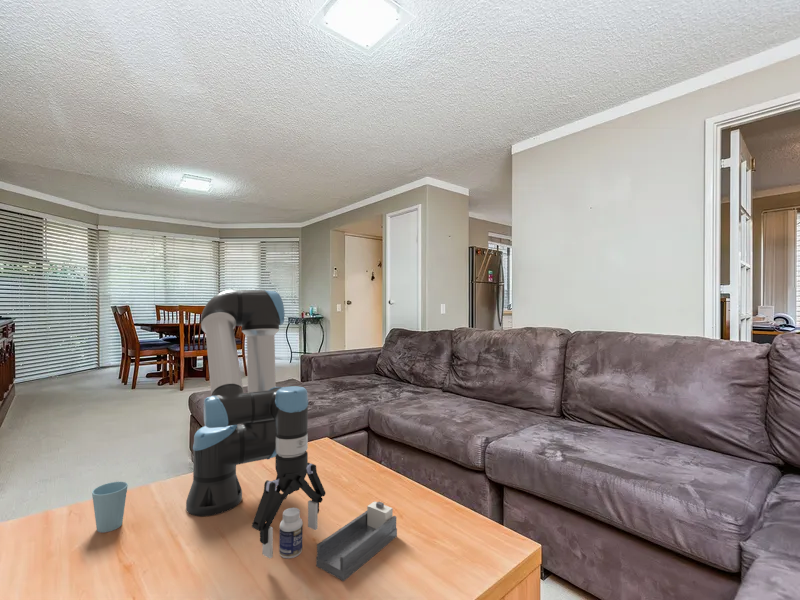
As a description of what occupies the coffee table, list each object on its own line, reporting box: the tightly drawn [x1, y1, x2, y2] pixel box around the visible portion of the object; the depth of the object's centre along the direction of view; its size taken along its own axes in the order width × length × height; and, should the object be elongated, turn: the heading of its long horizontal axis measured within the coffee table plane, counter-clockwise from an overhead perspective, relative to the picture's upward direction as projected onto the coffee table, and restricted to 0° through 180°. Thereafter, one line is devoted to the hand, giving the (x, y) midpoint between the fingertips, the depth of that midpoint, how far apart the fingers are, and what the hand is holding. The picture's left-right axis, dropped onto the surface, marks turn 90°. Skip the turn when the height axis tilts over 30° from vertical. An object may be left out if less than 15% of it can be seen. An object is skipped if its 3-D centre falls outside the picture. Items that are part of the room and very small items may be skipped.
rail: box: [315, 510, 398, 582], centre depth 95 cm, size 8×20×5 cm, turn 145°
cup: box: [91, 481, 129, 533], centre depth 105 cm, size 8×8×10 cm
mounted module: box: [366, 501, 394, 529], centre depth 102 cm, size 6×3×6 cm, turn 55°
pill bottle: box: [278, 507, 304, 559], centre depth 94 cm, size 5×5×10 cm
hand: (291, 541), depth 94 cm, fingers open, 13 cm apart
